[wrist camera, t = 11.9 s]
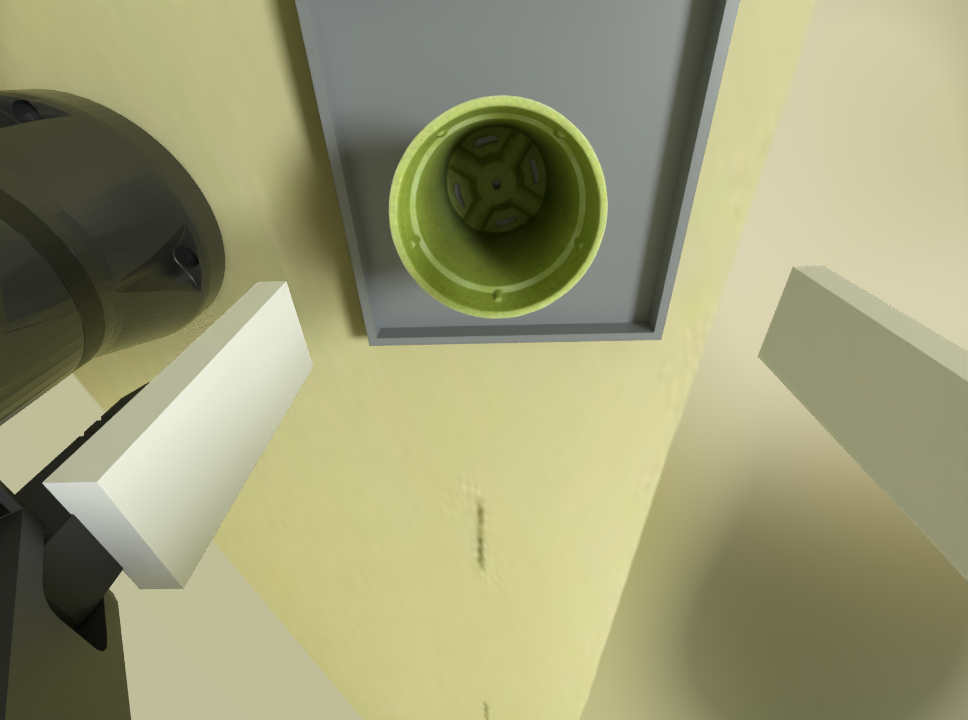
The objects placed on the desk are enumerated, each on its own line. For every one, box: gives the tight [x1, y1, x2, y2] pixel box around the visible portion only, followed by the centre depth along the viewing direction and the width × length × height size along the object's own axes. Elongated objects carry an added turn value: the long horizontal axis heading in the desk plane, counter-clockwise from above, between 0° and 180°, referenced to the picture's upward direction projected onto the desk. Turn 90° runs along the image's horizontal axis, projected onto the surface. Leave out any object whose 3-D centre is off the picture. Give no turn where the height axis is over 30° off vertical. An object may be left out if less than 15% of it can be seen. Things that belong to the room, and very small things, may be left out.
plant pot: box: [389, 95, 608, 319], centre depth 22 cm, size 9×9×9 cm
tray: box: [295, 0, 740, 346], centre depth 25 cm, size 21×21×2 cm
